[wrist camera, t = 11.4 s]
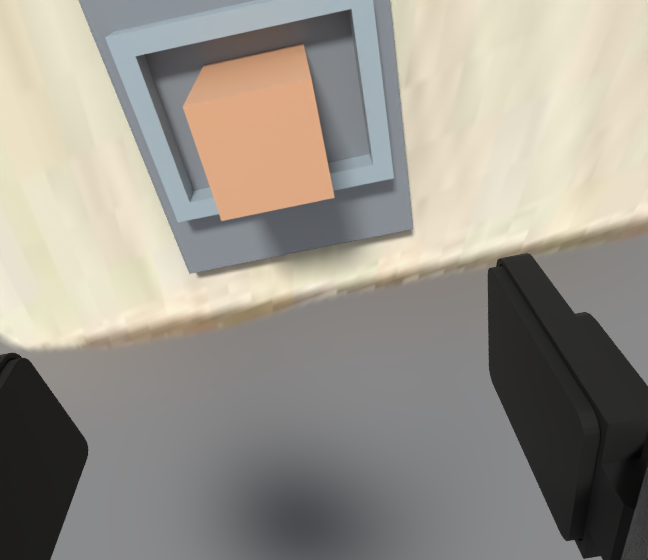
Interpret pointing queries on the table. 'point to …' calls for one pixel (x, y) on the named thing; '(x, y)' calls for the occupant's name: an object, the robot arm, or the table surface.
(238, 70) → the orange rectangular block
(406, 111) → the table surface
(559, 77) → the table surface
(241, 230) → the holder dock
